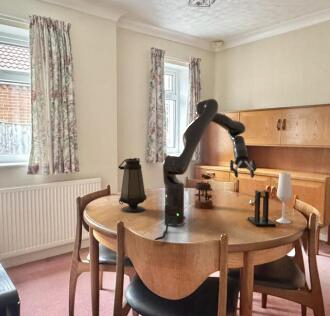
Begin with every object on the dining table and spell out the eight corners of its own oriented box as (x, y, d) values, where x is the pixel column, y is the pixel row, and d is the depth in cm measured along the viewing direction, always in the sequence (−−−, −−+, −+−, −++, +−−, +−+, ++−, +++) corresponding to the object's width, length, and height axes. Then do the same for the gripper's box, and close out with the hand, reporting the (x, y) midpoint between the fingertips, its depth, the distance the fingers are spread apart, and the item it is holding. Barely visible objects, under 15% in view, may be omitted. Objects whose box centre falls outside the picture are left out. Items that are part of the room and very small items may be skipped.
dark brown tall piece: (204, 203, 186) (206, 171, 183) (217, 207, 177) (220, 175, 174) (186, 206, 178) (188, 173, 175) (199, 211, 169) (202, 177, 166)
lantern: (128, 215, 159) (127, 159, 157) (112, 209, 171) (112, 158, 169) (153, 209, 171) (153, 157, 168) (137, 204, 183) (137, 156, 180)
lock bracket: (247, 219, 150) (248, 188, 149) (265, 219, 150) (266, 188, 148) (256, 226, 138) (257, 193, 137) (275, 226, 138) (276, 193, 137)
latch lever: (248, 206, 156) (248, 201, 158) (255, 206, 156) (254, 200, 157) (260, 196, 141) (258, 190, 142) (266, 196, 141) (265, 190, 142)
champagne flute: (272, 220, 148) (274, 172, 146) (283, 218, 150) (284, 172, 148) (283, 224, 142) (285, 174, 140) (294, 222, 144) (296, 173, 142)
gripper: (229, 149, 171) (233, 174, 162) (254, 149, 170) (259, 174, 162) (226, 155, 177) (230, 180, 169) (250, 156, 177) (255, 180, 169)
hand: (244, 177), depth 165 cm, fingers open, 8 cm apart
